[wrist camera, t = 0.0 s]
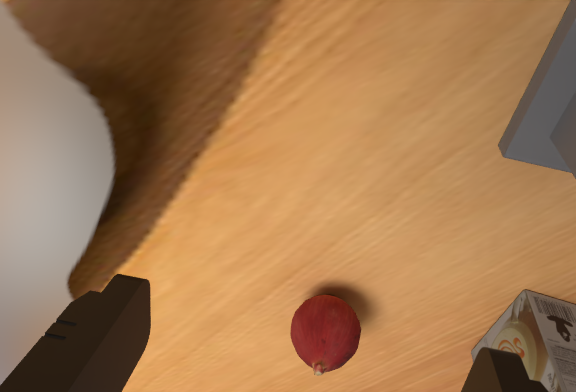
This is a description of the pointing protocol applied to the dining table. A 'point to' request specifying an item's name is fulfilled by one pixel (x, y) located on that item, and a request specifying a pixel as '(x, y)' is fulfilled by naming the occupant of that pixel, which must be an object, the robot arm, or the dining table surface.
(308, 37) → the dining table surface
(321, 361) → the onion
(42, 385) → the robot arm
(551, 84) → the pedestal
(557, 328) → the coffee box
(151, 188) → the dining table surface
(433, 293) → the dining table surface
